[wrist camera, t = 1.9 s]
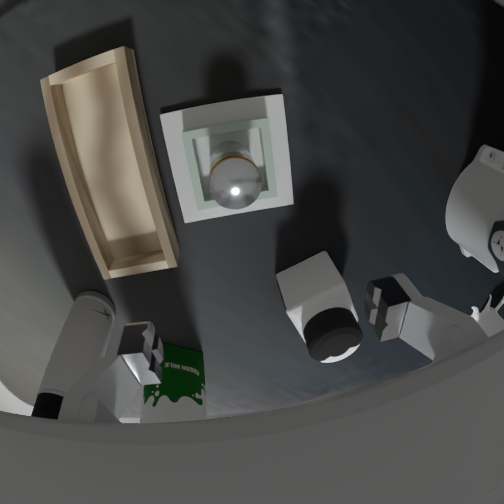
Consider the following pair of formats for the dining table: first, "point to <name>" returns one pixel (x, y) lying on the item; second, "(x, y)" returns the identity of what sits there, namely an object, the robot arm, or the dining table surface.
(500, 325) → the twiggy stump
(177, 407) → the milk carton
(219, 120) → the checker cradle
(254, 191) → the cell
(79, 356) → the travel mug
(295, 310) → the medicine bottle
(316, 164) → the dining table surface
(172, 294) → the dining table surface
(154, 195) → the trough
